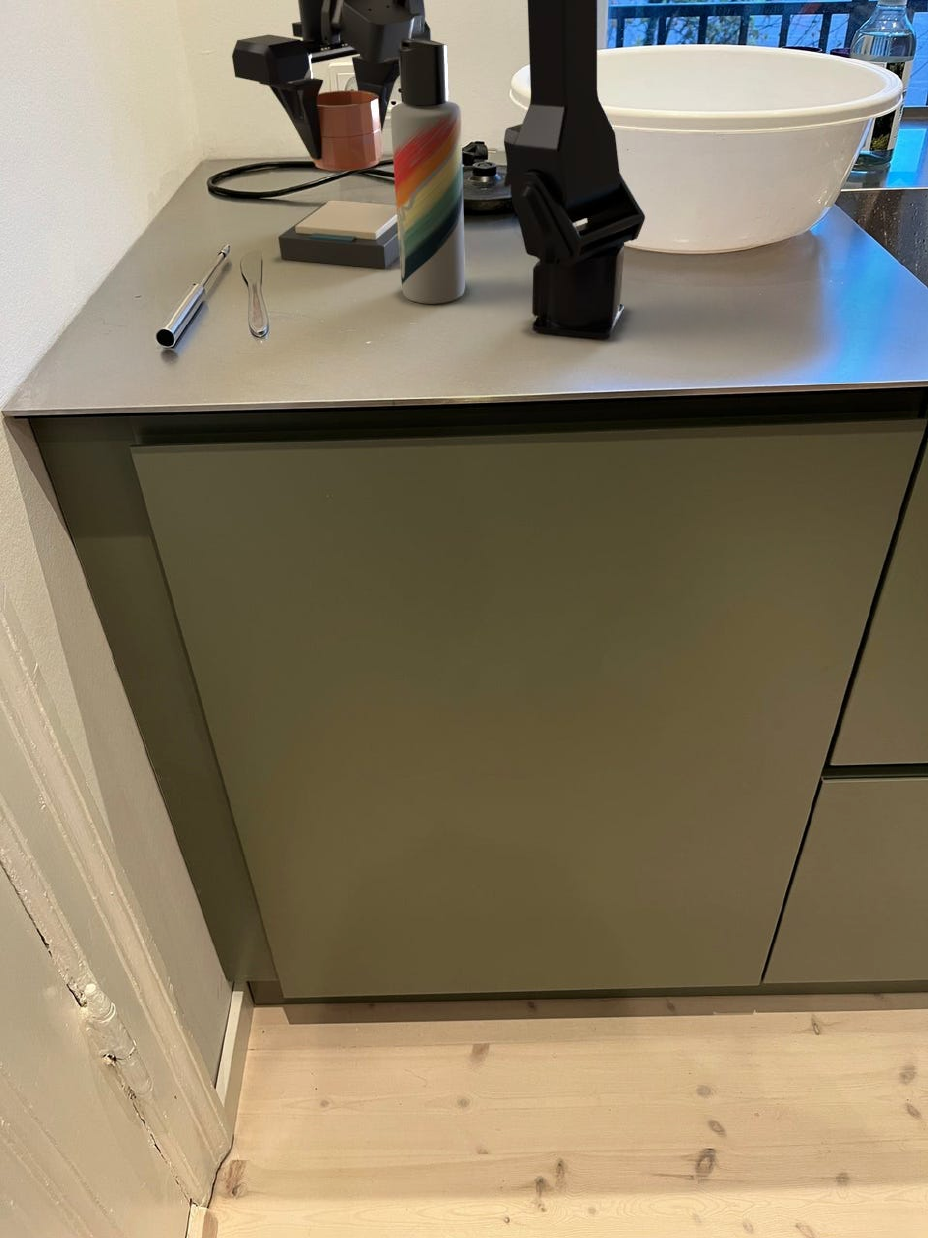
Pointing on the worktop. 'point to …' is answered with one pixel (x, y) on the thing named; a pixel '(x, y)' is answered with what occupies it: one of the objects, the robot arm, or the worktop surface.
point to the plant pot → (349, 130)
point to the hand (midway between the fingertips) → (345, 150)
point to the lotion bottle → (428, 176)
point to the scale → (345, 235)
